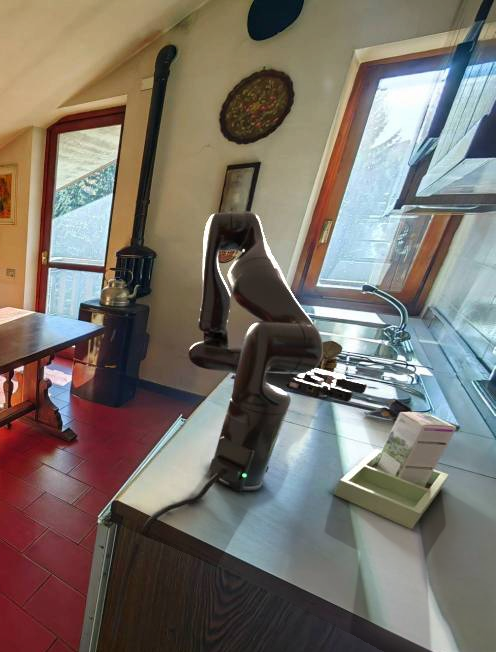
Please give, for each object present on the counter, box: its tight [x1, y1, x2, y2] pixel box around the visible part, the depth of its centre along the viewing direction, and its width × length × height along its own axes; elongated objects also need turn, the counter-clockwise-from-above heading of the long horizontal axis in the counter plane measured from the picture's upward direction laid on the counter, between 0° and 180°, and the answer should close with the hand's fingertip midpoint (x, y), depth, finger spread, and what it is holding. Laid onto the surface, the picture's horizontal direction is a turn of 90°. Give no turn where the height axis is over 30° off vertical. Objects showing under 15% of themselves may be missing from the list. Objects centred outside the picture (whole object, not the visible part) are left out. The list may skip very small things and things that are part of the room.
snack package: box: [364, 397, 413, 422], centre depth 107 cm, size 12×6×12 cm
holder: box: [333, 449, 450, 530], centre depth 78 cm, size 21×11×4 cm, turn 123°
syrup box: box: [374, 411, 457, 487], centre depth 78 cm, size 6×6×14 cm
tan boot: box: [316, 340, 343, 373], centre depth 123 cm, size 9×14×18 cm, turn 140°
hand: (358, 393), depth 83 cm, fingers open, 8 cm apart
